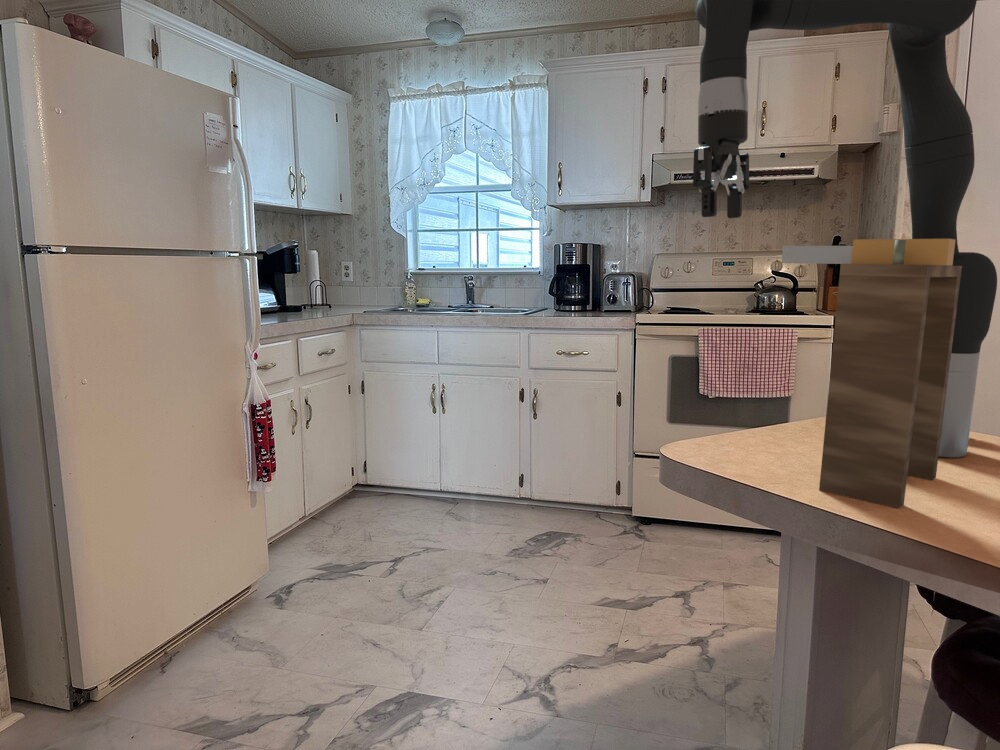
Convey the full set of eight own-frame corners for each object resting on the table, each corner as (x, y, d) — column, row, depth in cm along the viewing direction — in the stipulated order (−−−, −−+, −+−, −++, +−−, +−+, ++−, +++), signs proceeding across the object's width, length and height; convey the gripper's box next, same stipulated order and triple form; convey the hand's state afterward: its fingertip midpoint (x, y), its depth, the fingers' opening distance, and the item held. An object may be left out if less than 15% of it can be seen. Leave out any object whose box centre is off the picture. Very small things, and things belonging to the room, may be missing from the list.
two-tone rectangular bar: (789, 263, 101) (791, 240, 101) (952, 265, 87) (955, 239, 87) (780, 262, 99) (782, 240, 99) (946, 265, 85) (949, 238, 85)
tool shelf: (863, 463, 109) (886, 244, 104) (935, 477, 103) (964, 244, 97) (819, 490, 96) (842, 240, 90) (899, 508, 89) (930, 239, 84)
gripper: (722, 122, 117) (721, 220, 120) (678, 111, 107) (678, 218, 110) (765, 114, 112) (763, 216, 114) (723, 101, 102) (722, 214, 104)
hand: (722, 217), depth 112 cm, fingers open, 8 cm apart
